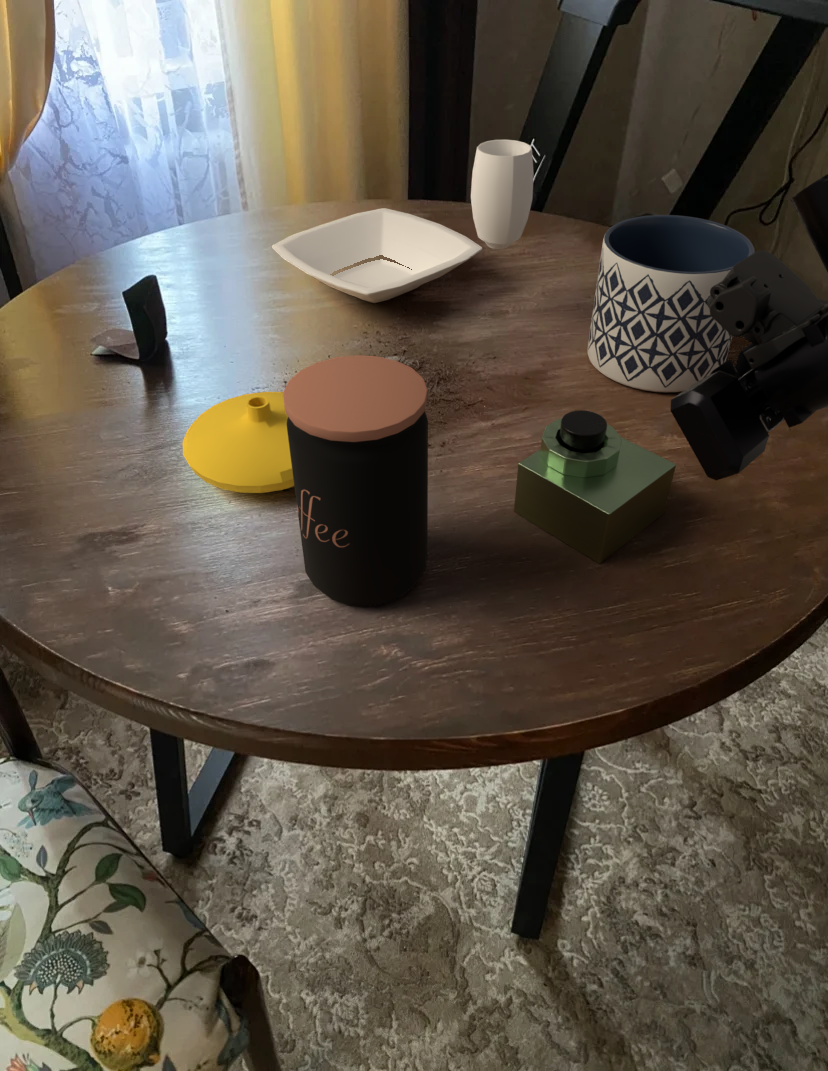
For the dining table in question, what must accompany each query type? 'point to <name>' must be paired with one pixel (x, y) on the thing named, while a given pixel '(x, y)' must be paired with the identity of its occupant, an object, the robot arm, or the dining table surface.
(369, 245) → the bowl
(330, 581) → the coffee jar
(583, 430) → the button
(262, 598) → the dining table surface
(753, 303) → the robot arm
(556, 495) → the push button box
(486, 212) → the cup
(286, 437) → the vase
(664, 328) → the planter
